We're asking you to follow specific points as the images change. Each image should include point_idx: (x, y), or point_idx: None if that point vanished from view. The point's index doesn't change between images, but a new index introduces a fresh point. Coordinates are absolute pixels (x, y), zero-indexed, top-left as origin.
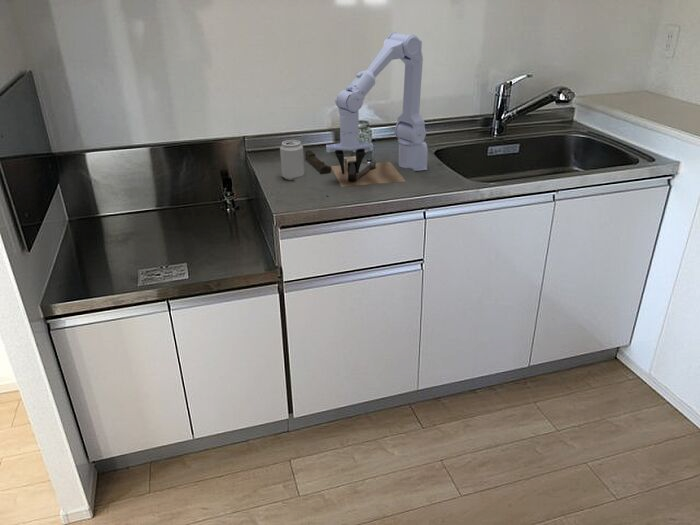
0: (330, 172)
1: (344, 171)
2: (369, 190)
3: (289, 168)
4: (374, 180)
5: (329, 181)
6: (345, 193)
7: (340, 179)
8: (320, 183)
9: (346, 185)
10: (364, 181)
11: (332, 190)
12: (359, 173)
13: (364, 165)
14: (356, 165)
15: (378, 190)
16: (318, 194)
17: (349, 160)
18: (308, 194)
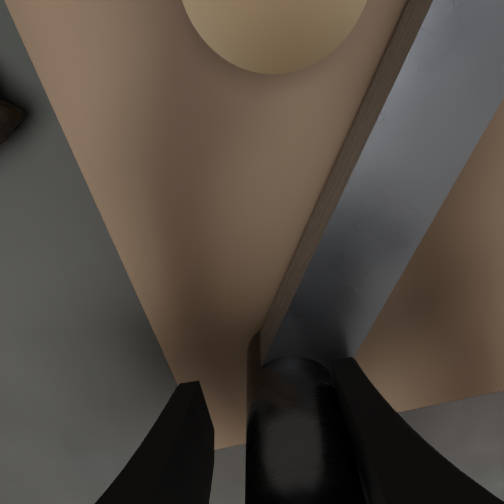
0: (16, 122)
1: (176, 81)
2: (413, 420)
3: None
4: (488, 328)
5: (72, 267)
6: (244, 467)
7: (174, 319)
8: (9, 314)
9: (244, 430)
10: (394, 353)
11: (146, 430)
12: (365, 323)
13: (457, 88)
14: (357, 460)
15: (479, 418)
16: (69, 486)
17: (228, 9)
18: (4, 488)
